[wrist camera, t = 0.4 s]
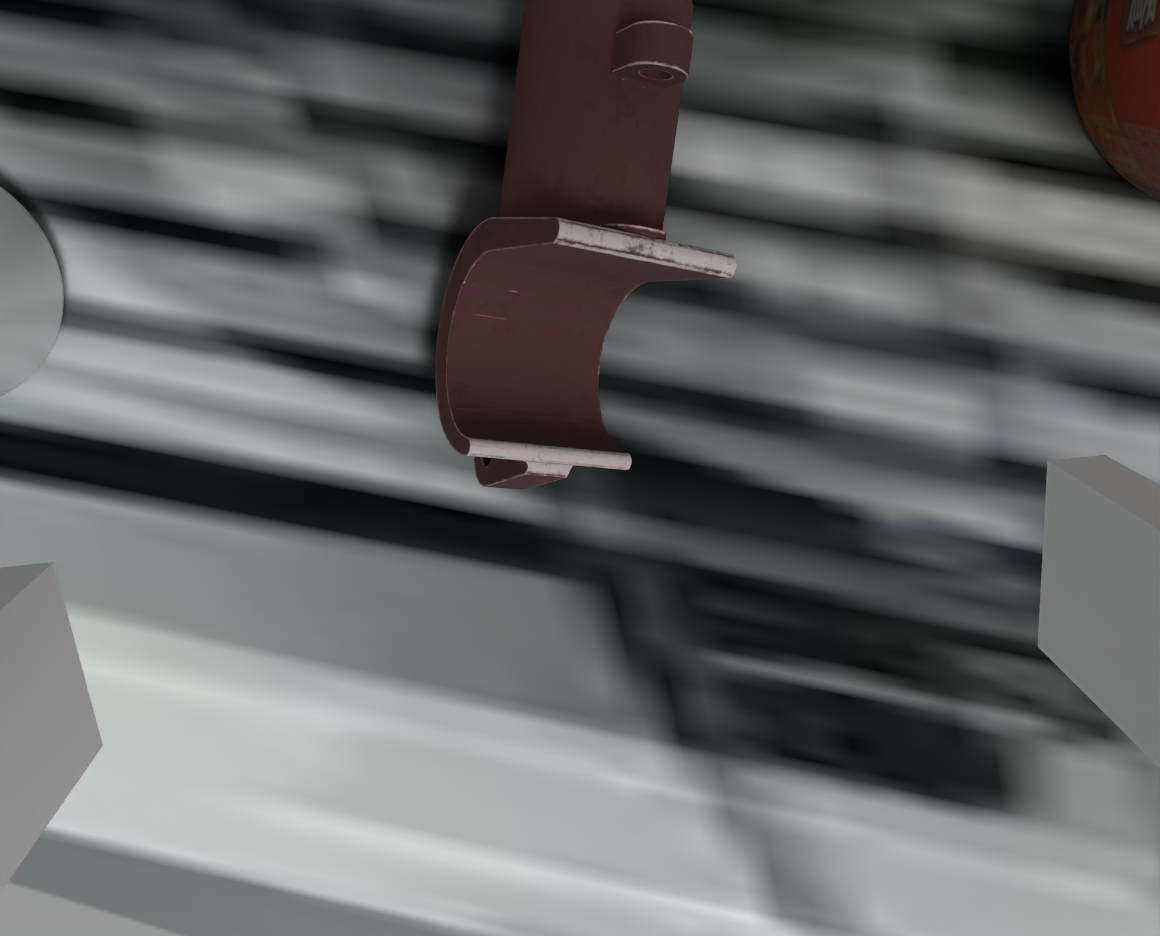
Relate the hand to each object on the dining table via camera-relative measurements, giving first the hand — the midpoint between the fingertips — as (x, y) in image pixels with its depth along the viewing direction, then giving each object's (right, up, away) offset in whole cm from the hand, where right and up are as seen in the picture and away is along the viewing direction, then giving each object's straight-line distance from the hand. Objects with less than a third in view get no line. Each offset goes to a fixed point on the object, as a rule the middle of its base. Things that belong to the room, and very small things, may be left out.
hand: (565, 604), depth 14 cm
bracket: (0, +10, +26) cm, 28 cm away
